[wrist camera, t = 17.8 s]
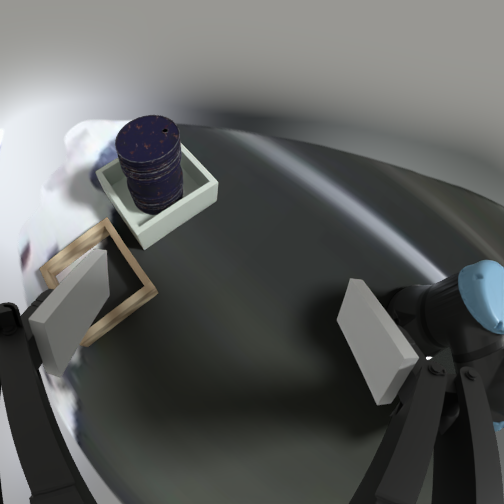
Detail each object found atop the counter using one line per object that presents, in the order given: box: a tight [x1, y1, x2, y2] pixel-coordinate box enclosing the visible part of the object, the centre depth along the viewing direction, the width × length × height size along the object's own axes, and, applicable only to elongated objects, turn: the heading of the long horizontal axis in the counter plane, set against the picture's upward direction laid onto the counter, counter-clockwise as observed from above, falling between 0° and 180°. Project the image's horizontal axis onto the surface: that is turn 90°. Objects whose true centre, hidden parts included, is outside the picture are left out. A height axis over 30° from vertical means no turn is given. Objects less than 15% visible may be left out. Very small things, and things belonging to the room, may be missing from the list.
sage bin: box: [95, 144, 218, 250], centre depth 51 cm, size 16×16×6 cm
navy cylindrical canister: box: [115, 115, 183, 215], centre depth 46 cm, size 10×10×15 cm
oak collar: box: [39, 217, 158, 347], centre depth 44 cm, size 15×15×4 cm
